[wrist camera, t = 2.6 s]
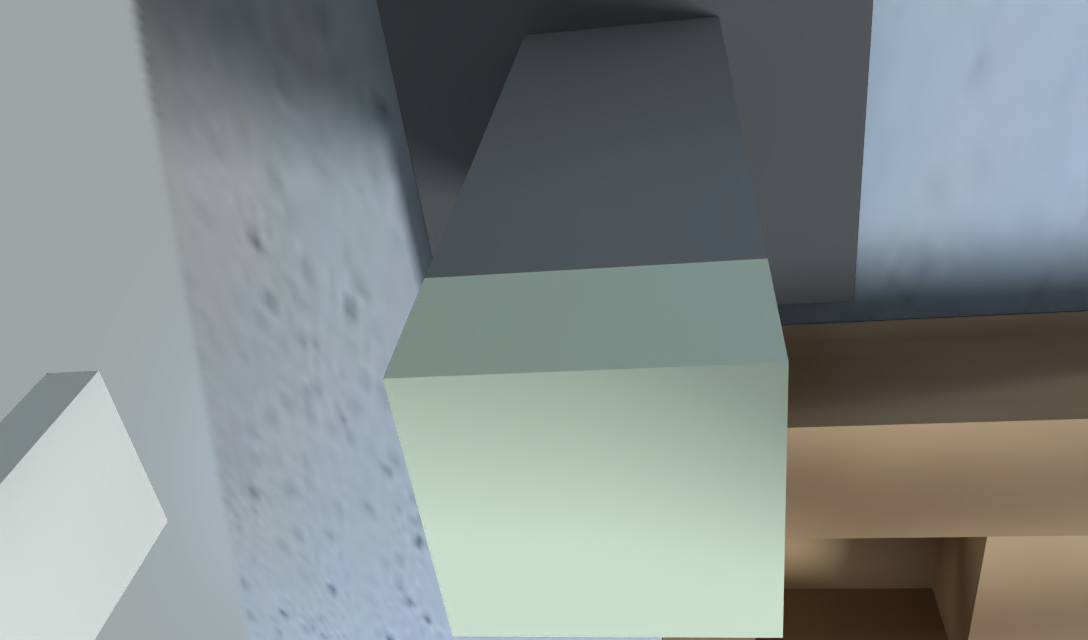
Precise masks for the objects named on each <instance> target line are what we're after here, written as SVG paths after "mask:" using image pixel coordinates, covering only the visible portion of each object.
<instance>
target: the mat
mask: <svg viewBox="0 0 1088 640" xmlns="http://www.w3.org/2000/svg"><path fill="white" fill-rule="evenodd" d="M377 4H378V8H379V13H380V17H381V22H382V27H383V31H384V36H385V41H386V45H387V50H388V54H389V59H390V64H391V68H392V73H393V77H394V82H395V87H396V91H397V96H398V101H399V105H400V110H401V114H402V119H403V124H404V128H405V133H406V137H407V142H408V147H409V151H410V156H411V160H412V165H413V170H414V174H415V179H416V184H417V188H418V193H419V197H420V202H421V207H422V211H423V216H424V220H425V225H426V230H427V234H428V239H429V244H430V248H431V253H432V257H433V256H434V254H435V251H436V249H437V247H438V244H439V242H440V239H441V237H442V235H443V232H444V230H445V227H446V225H447V222H448V220H449V218H450V215H451V213H452V210H453V208H454V206H455V203H456V201H457V198H458V196H459V193H460V191H461V189H462V186H463V184H464V181H465V179H466V177H467V174H468V172H469V169H470V167H471V164H472V162H473V160H474V157H475V155H476V152H477V150H478V148H479V145H480V143H481V140H482V138H483V135H484V133H485V131H486V128H487V126H488V123H489V121H490V118H491V116H492V114H493V111H494V109H495V106H496V104H497V102H498V99H499V97H500V94H501V92H502V89H503V87H504V85H505V82H506V80H507V77H508V75H509V73H510V70H511V68H512V65H513V63H514V60H515V58H516V56H517V53H518V51H519V48H520V46H521V44H522V41H523V39H524V36H525V35H533V34H543V33H554V32H564V31H574V30H584V29H595V28H605V27H615V26H625V25H636V24H646V23H656V22H666V21H677V20H687V19H697V18H707V17H717V16H719V19H720V24H721V29H722V34H723V39H724V44H725V49H726V54H727V59H728V64H729V69H730V74H731V79H732V84H733V89H734V93H735V98H736V103H737V108H738V113H739V118H740V123H741V128H742V133H743V138H744V143H745V148H746V153H747V158H748V163H749V168H750V173H751V178H752V183H753V188H754V193H755V198H756V203H757V208H758V213H759V218H760V223H761V227H762V232H763V237H764V242H765V247H766V252H767V257H768V262H769V267H770V272H771V277H772V282H773V287H774V292H775V297H776V302H777V305H786V304H806V303H826V302H846V301H854V288H855V273H856V258H857V242H858V227H859V211H860V196H861V180H862V165H863V149H864V134H865V119H866V103H867V88H868V72H869V57H870V41H871V26H872V11H873V0H377Z"/></svg>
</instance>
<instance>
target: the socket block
mask: <svg viewBox="0 0 1088 640" xmlns="http://www.w3.org/2000/svg"><path fill="white" fill-rule="evenodd" d="M781 327H782V332H783V337H784V342H785V347H786V352H787V357H788V361H789V370H788V417H787V464H786V511H785V559H784V606H783V638H699V637H662V640H1088V311H1080V312H1059V313H1037V314H1016V315H994V316H973V317H951V318H930V319H908V320H887V321H865V322H844V323H822V324H801V325H781Z"/></svg>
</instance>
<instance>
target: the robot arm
mask: <svg viewBox="0 0 1088 640" xmlns="http://www.w3.org/2000/svg"><path fill="white" fill-rule="evenodd" d="M166 523H167V519H166V516H165V514H164V512H163V510H162V508H161V506H160V503H159V502H158V499H157V497H156V495H155V493H154V491H153V488H152V486H151V484H150V482H149V479H148V477H147V475H146V473H145V471H144V469H143V466H142V464H141V462H140V460H139V458H138V455H137V453H136V451H135V449H134V447H133V445H132V442H131V440H130V438H129V436H128V434H127V431H126V429H125V427H124V425H123V423H122V421H121V419H120V416H119V414H118V412H117V410H116V407H115V405H114V403H113V401H112V399H111V397H110V394H109V392H108V390H107V388H106V386H105V384H104V382H103V379H102V377H101V375H100V373H99V371H85V372H65V373H47V374H46V375H45V376H44V377H43V378H42V379H41V380H40V381H39V382H38V383H37V384H36V385H35V386H34V387H33V389H32V390H31V391H30V392H29V393H28V394H27V395H26V396H25V397H24V398H23V399H22V400H21V401H20V402H19V403H18V404H17V405H16V406H15V407H14V409H13V410H12V411H11V412H10V413H9V414H8V415H7V416H6V417H5V418H4V419H3V420H2V421H1V422H0V640H95V638H96V636H97V635H98V633H99V631H100V630H101V628H102V626H103V625H104V623H105V622H106V620H107V618H108V617H109V615H110V614H111V612H112V610H113V609H114V607H115V606H116V604H117V602H118V600H119V599H120V598H121V596H122V594H123V593H124V591H125V589H126V588H127V586H128V585H129V583H130V581H131V580H132V578H133V576H134V575H135V573H136V572H137V570H138V568H139V567H140V565H141V563H142V562H143V560H144V558H145V557H146V555H147V554H148V552H149V550H150V549H151V547H152V545H153V544H154V542H155V541H156V539H157V537H158V536H159V534H160V532H161V531H162V529H163V528H164V526H165V524H166Z"/></svg>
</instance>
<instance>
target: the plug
mask: <svg viewBox="0 0 1088 640" xmlns="http://www.w3.org/2000/svg"><path fill="white" fill-rule="evenodd" d="M788 370H789V361H788V357H787V352H786V347H785V342H784V337H783V332H782V327H781V322H780V317H779V312H778V307H777V302H776V297H775V292H774V287H773V282H772V277H771V272H770V267H769V262H768V257H767V252H766V247H765V242H764V237H763V232H762V227H761V223H760V218H759V213H758V208H757V203H756V198H755V193H754V188H753V183H752V178H751V173H750V168H749V163H748V158H747V153H746V148H745V143H744V138H743V133H742V128H741V123H740V118H739V113H738V108H737V103H736V98H735V93H734V89H733V84H732V79H731V74H730V69H729V64H728V59H727V54H726V49H725V44H724V39H723V34H722V29H721V24H720V19H719V16H717V17H707V18H697V19H687V20H677V21H666V22H656V23H646V24H636V25H625V26H615V27H605V28H595V29H584V30H574V31H564V32H554V33H543V34H533V35H525V36H524V39H523V41H522V44H521V46H520V48H519V51H518V53H517V56H516V58H515V60H514V63H513V65H512V68H511V70H510V73H509V75H508V77H507V80H506V82H505V85H504V87H503V89H502V92H501V94H500V97H499V99H498V102H497V104H496V106H495V109H494V111H493V114H492V116H491V118H490V121H489V123H488V126H487V128H486V131H485V133H484V135H483V138H482V140H481V143H480V145H479V148H478V150H477V152H476V155H475V157H474V160H473V162H472V164H471V167H470V169H469V172H468V174H467V177H466V179H465V181H464V184H463V186H462V189H461V191H460V193H459V196H458V198H457V201H456V203H455V206H454V208H453V210H452V213H451V215H450V218H449V220H448V222H447V225H446V227H445V230H444V232H443V235H442V237H441V239H440V242H439V244H438V247H437V249H436V251H435V254H434V256H433V259H432V261H431V264H430V266H429V268H428V271H427V273H426V276H425V278H424V281H423V283H422V285H421V288H420V290H419V293H418V295H417V297H416V300H415V302H414V305H413V307H412V310H411V312H410V314H409V317H408V319H407V322H406V324H405V326H404V329H403V331H402V334H401V336H400V339H399V341H398V343H397V346H396V348H395V351H394V353H393V355H392V358H391V360H390V363H389V365H388V368H387V370H386V372H385V375H384V377H383V381H384V385H385V388H386V392H387V396H388V399H389V403H390V407H391V410H392V414H393V418H394V421H395V425H396V429H397V432H398V436H399V440H400V444H401V447H402V451H403V455H404V458H405V462H406V466H407V469H408V473H409V477H410V480H411V484H412V488H413V491H414V495H415V499H416V502H417V506H418V510H419V514H420V517H421V521H422V525H423V528H424V532H425V536H426V539H427V543H428V547H429V550H430V554H431V558H432V561H433V565H434V569H435V572H436V576H437V580H438V583H439V587H440V591H441V595H442V598H443V602H444V606H445V609H446V613H447V617H448V620H449V624H450V628H451V631H452V635H453V636H466V637H699V638H783V606H784V559H785V511H786V464H787V417H788Z"/></svg>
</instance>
